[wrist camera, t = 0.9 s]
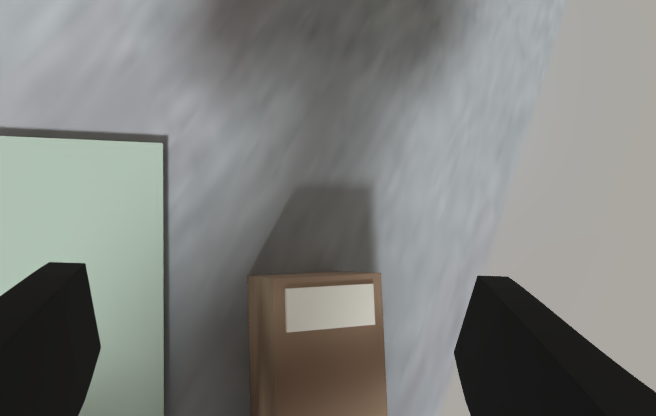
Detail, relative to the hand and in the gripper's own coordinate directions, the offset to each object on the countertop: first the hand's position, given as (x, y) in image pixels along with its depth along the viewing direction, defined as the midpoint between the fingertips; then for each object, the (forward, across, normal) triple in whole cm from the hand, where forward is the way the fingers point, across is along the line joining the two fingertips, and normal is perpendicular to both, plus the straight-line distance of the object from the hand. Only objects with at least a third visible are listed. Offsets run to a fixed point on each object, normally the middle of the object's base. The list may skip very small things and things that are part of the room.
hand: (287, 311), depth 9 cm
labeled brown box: (+10, -1, +12) cm, 15 cm away
